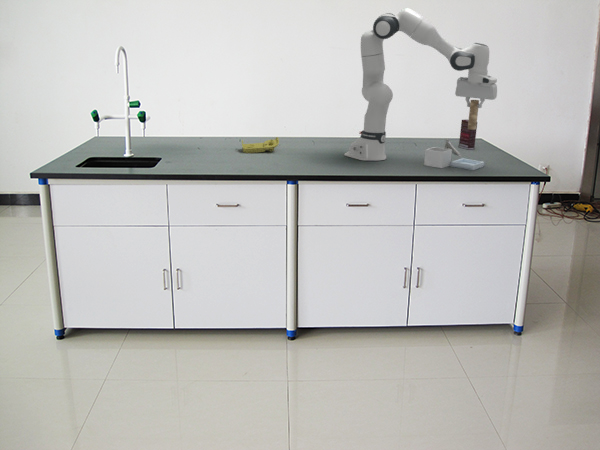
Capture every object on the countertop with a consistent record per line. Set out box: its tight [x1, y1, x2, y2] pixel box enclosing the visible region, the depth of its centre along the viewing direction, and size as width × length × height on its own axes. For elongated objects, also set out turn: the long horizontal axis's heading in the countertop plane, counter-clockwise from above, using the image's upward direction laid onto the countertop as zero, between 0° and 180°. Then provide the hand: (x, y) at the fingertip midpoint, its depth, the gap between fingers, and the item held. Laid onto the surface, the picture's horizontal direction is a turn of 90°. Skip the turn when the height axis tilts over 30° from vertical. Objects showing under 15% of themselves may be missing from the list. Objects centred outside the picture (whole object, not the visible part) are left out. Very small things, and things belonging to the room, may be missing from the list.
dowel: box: [468, 99, 480, 131], centre depth 296 cm, size 4×4×14 cm
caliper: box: [444, 138, 462, 157], centre depth 335 cm, size 20×1×6 cm, turn 10°
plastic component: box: [241, 136, 280, 154], centre depth 326 cm, size 20×7×10 cm
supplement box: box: [458, 119, 478, 150], centre depth 346 cm, size 9×5×16 cm, turn 25°
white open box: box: [423, 146, 453, 169], centre depth 304 cm, size 10×10×8 cm
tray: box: [450, 157, 485, 171], centre depth 304 cm, size 12×12×2 cm
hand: (474, 107), depth 295 cm, fingers closed on dowel, 4 cm apart
